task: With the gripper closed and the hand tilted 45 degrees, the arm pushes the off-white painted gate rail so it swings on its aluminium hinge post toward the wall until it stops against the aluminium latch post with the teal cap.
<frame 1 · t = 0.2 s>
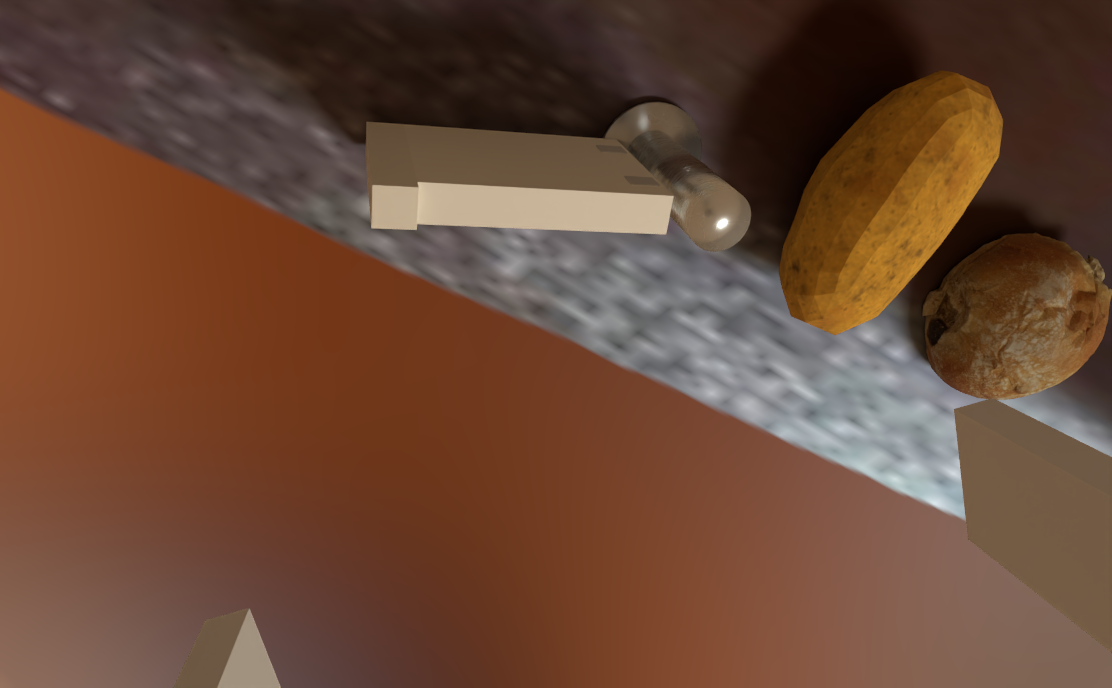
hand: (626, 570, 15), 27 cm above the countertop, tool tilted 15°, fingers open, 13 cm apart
gate posts: (649, 155, 41), on the countertop
bread roll: (993, 300, 50), on the countertop
potato: (845, 184, 44), on the countertop
gate: (510, 177, 34), point 5 cm above the countertop, hinge at 0.0°
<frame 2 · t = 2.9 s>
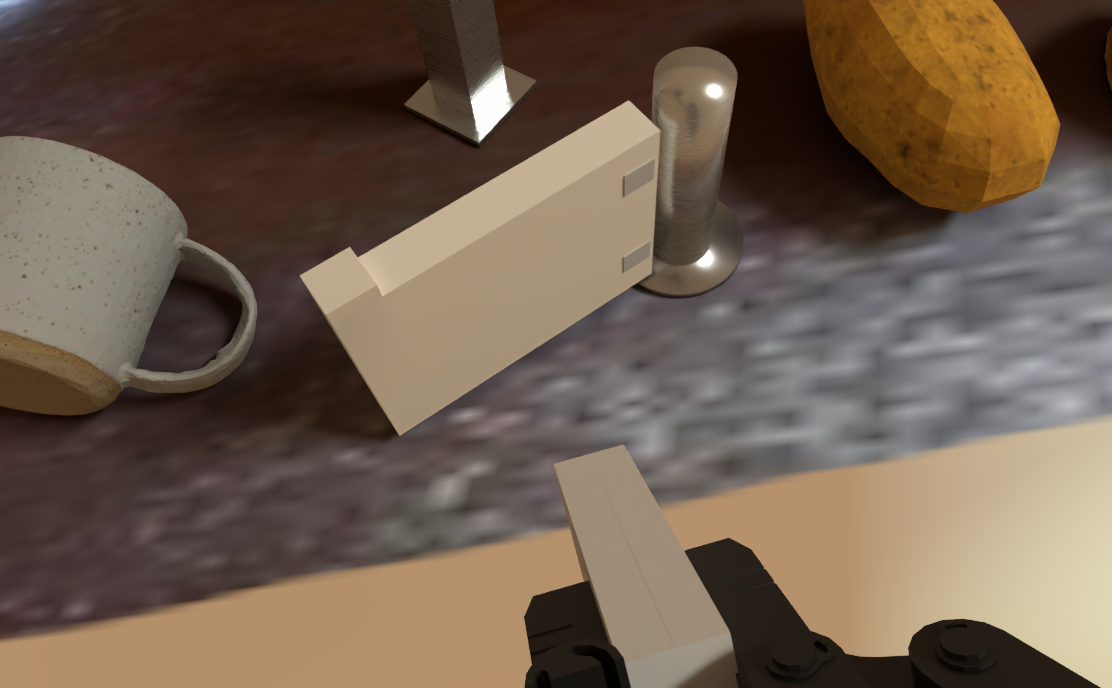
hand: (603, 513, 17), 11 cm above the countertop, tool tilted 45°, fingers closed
gate posts: (677, 243, 34), on the countertop
ceramic mug: (139, 332, 34), on the countertop
potato: (894, 130, 36), on the countertop
gate: (505, 274, 28), point 5 cm above the countertop, hinge at 0.0°
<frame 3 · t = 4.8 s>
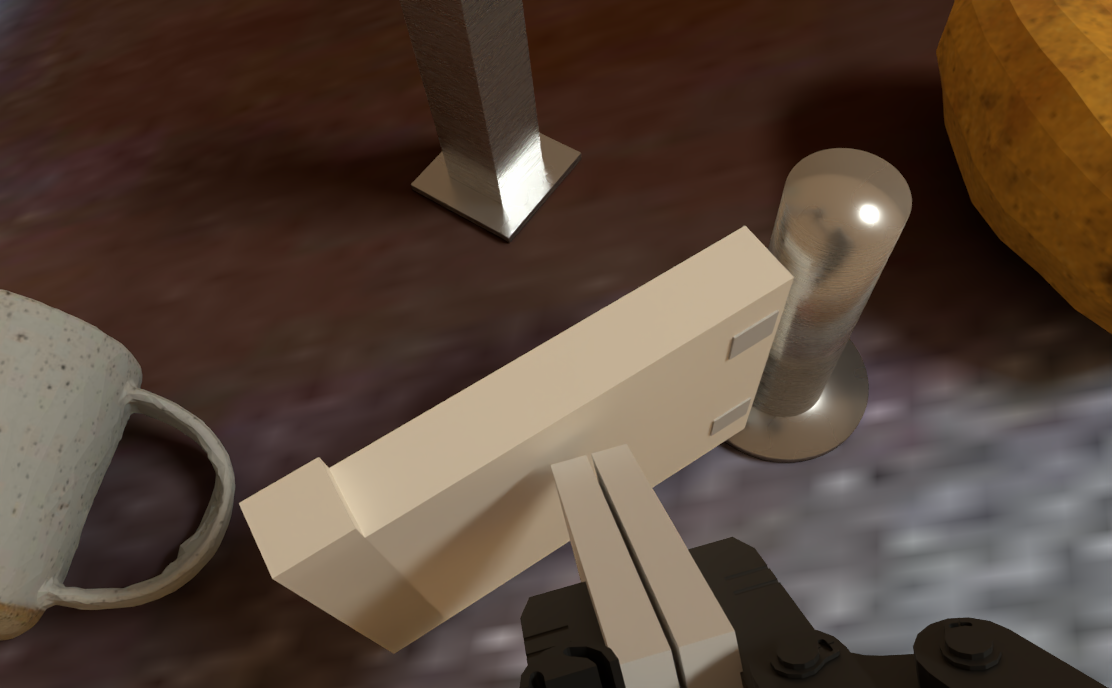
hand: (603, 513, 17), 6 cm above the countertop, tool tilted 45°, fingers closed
gate posts: (777, 382, 25), on the countertop
ceramic mug: (79, 503, 25), on the countertop
potato: (1053, 221, 28), on the countertop
gate: (550, 457, 19), point 5 cm above the countertop, hinge at -3.1°, touching gripper
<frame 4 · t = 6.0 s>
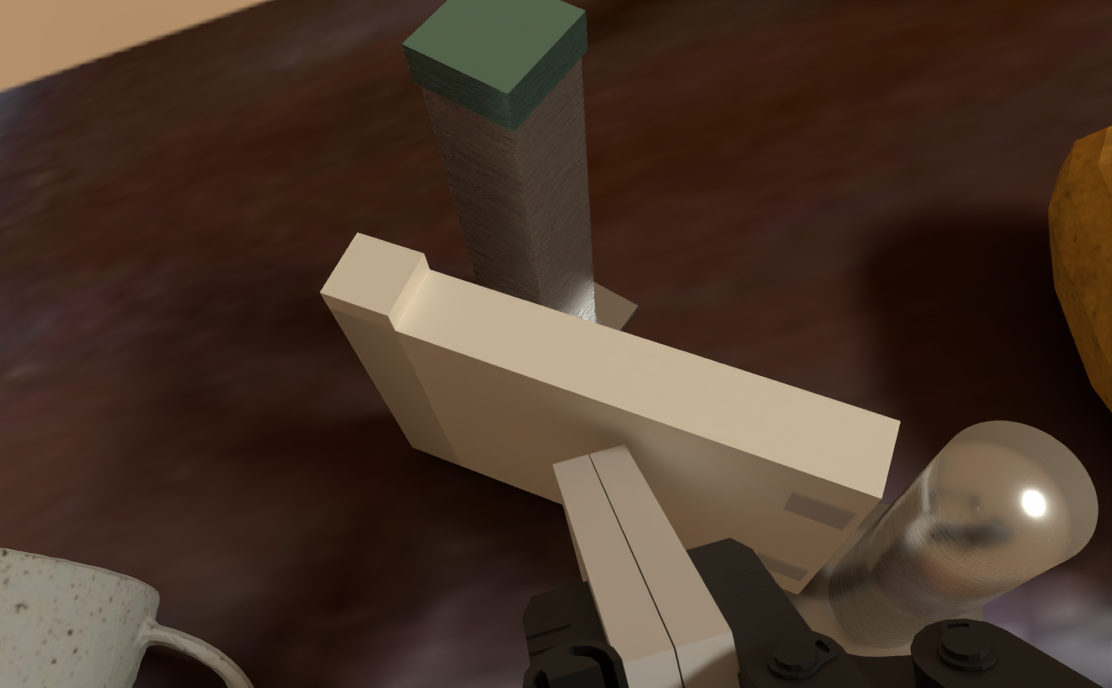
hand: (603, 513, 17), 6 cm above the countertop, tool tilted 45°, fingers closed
gate posts: (875, 599, 22), on the countertop
gate: (600, 432, 20), point 5 cm above the countertop, hinge at -57.7°
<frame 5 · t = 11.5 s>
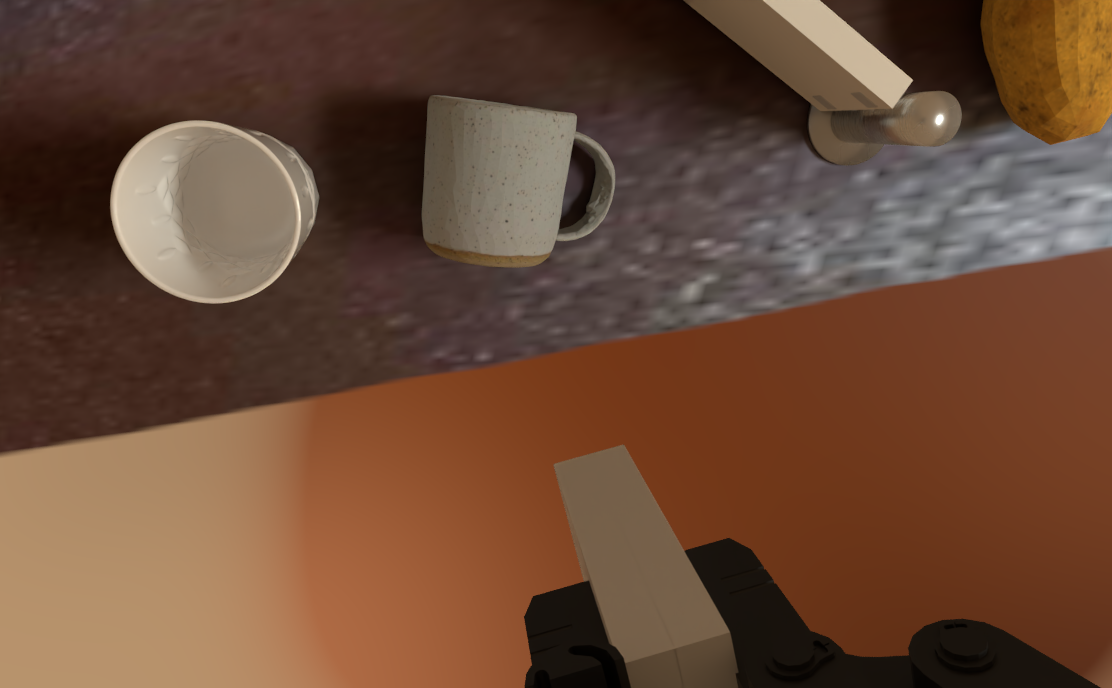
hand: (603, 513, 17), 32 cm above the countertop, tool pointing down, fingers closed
gate posts: (849, 120, 49), on the countertop
ceramic mug: (515, 173, 47), on the countertop
potato: (1015, 23, 49), on the countertop
white cup: (257, 195, 46), on the countertop
gate: (783, 29, 42), point 5 cm above the countertop, hinge at -68.3°
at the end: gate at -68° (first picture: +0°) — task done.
